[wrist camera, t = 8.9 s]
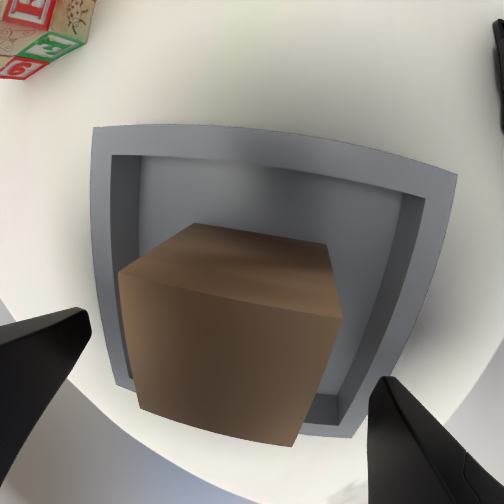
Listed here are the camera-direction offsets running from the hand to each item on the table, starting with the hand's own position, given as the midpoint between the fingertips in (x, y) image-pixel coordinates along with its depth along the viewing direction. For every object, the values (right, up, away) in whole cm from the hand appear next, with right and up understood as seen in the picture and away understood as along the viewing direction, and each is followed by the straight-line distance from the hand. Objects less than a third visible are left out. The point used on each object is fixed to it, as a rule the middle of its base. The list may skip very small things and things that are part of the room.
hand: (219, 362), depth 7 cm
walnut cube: (+1, +1, +4) cm, 4 cm away
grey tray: (+1, +2, +4) cm, 5 cm away
